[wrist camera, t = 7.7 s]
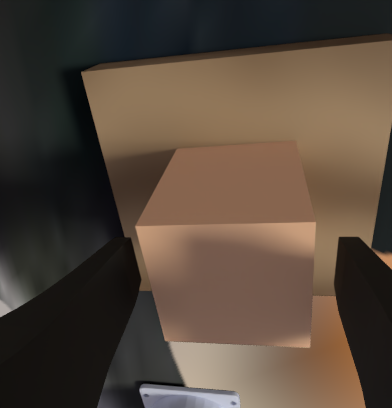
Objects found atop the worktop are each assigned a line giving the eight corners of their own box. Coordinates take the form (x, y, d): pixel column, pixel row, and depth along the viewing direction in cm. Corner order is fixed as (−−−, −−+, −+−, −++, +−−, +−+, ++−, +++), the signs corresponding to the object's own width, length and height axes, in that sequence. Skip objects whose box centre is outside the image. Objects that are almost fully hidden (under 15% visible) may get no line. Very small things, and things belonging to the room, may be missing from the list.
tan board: (353, 270, 19) (362, 297, 18) (148, 267, 22) (139, 290, 20) (387, 33, 14) (405, 39, 12) (100, 63, 16) (81, 72, 14)
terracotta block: (294, 240, 17) (310, 347, 12) (192, 241, 18) (165, 340, 13) (295, 140, 14) (315, 222, 9) (176, 148, 15) (135, 226, 10)
